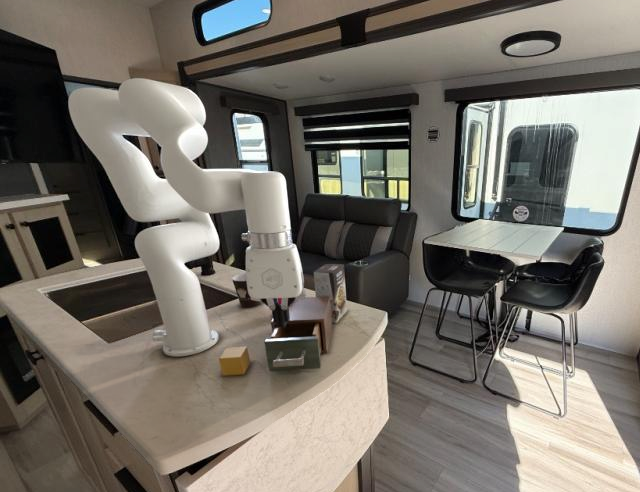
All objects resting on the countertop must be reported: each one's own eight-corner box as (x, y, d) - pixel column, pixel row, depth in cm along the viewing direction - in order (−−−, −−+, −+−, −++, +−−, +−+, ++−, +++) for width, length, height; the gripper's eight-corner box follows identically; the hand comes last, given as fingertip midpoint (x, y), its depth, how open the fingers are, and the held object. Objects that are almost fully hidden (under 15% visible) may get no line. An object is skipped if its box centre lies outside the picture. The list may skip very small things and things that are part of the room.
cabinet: (327, 352, 81) (323, 318, 77) (276, 355, 80) (270, 321, 76) (332, 326, 94) (329, 296, 91) (288, 328, 93) (284, 298, 90)
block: (222, 375, 72) (218, 358, 70) (230, 364, 76) (226, 347, 75) (243, 374, 72) (240, 357, 71) (250, 362, 77) (247, 346, 75)
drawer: (317, 382, 68) (314, 350, 66) (262, 385, 67) (257, 354, 65) (326, 338, 86) (324, 312, 83) (283, 341, 84) (279, 314, 82)
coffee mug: (232, 305, 109) (226, 277, 105) (255, 297, 115) (250, 271, 112) (251, 313, 102) (246, 284, 99) (274, 304, 109) (270, 277, 106)
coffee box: (337, 323, 96) (333, 273, 90) (317, 321, 97) (312, 271, 91) (347, 311, 104) (344, 264, 99) (329, 309, 105) (325, 262, 100)
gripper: (222, 244, 56) (239, 334, 63) (308, 243, 58) (315, 331, 65) (237, 235, 63) (251, 317, 70) (314, 235, 65) (320, 315, 72)
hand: (282, 324), depth 67 cm, fingers closed
